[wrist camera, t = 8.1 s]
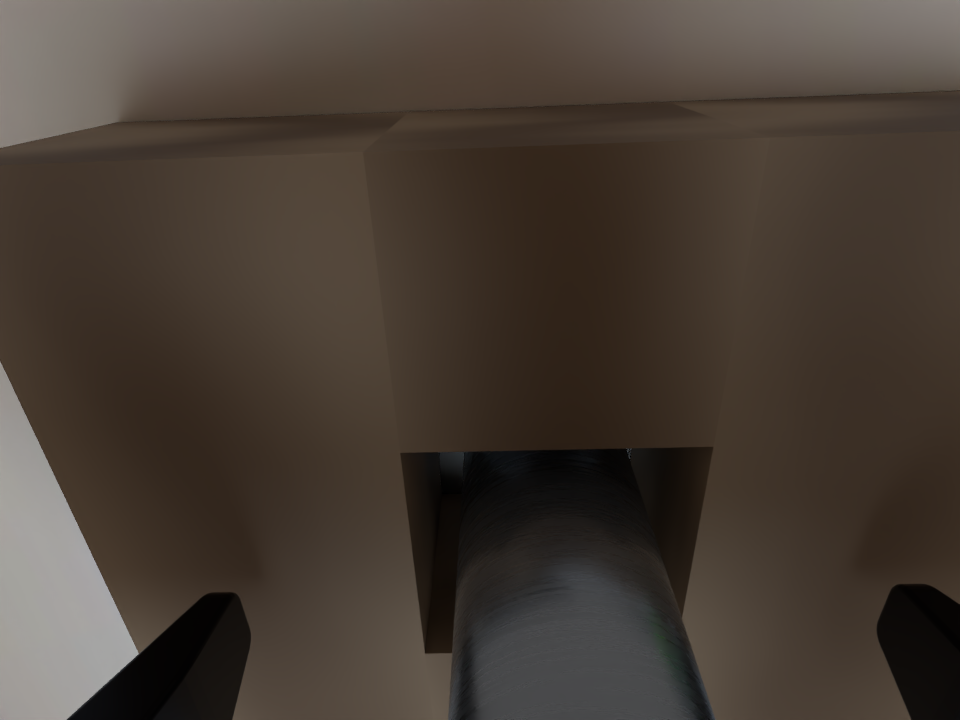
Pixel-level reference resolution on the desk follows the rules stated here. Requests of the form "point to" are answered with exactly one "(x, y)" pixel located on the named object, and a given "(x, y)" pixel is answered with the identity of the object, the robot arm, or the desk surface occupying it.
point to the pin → (565, 596)
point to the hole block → (501, 371)
